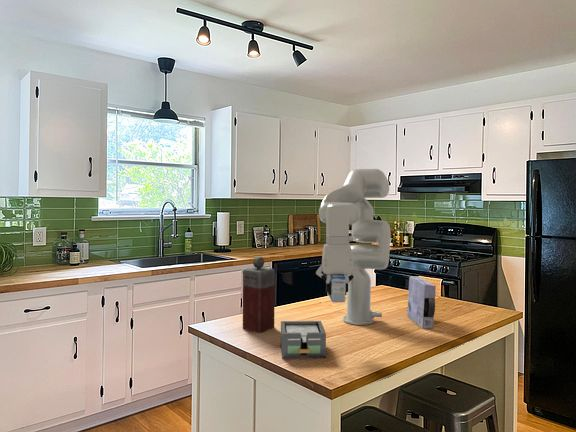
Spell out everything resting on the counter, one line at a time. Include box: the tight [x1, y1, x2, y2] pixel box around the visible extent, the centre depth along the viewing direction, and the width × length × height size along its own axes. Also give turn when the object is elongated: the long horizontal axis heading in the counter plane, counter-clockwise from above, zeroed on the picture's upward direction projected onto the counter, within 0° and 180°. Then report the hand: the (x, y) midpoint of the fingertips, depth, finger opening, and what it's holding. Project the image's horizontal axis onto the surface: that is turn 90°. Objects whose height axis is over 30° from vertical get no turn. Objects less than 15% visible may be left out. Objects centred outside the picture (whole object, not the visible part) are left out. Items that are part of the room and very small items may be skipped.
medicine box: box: [328, 275, 346, 303], centre depth 149 cm, size 8×4×9 cm, turn 3°
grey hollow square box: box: [280, 320, 327, 360], centre depth 148 cm, size 14×14×8 cm
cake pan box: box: [406, 275, 437, 330], centre depth 181 cm, size 19×5×18 cm, turn 4°
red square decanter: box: [242, 256, 276, 334], centre depth 172 cm, size 9×11×28 cm
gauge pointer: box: [299, 349, 309, 353], centre depth 140 cm, size 3×1×1 cm, turn 92°
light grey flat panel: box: [286, 325, 319, 342], centre depth 146 cm, size 11×14×1 cm
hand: (337, 293), depth 149 cm, fingers closed on medicine box, 4 cm apart
